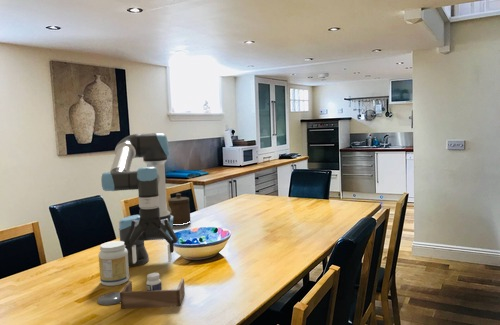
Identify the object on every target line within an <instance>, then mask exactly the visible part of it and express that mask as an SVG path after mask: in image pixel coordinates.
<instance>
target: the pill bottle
mask: <svg viewBox="0 0 500 325" xmlns="http://www.w3.org/2000/svg"><path fill="white" fill-rule="evenodd" d="M146 279H147V281H146V283H145V287H146V288H145V289H146V291H154V290H163V289H162V280H161V279H160V273H159V272H151V273H147V275H146Z"/></svg>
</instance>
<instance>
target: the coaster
mask: <svg viewBox="0 0 500 325" xmlns="http://www.w3.org/2000/svg"><path fill="white" fill-rule="evenodd" d="M120 292H121V291H112V292H108V293H105V294H102V295H101V296H99V297H97V298H98V299H97V303H98V304H99V305H101V306H113V305H118V304H121V303H120Z"/></svg>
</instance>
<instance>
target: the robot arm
mask: <svg viewBox="0 0 500 325" xmlns="http://www.w3.org/2000/svg"><path fill="white" fill-rule="evenodd" d="M170 152H171V151H170V147H169V143H168V138H167V135H166V134H165V133H160V132H159V133H157V132H154V133H134V134H130V135H127V136H125V137H124V138H122V139H121V140H120V141H119V142H118V143H117V144H116V146H115V149H114V154H115V156H114V159H113V160H112V161H113V162H112V165H111V168H110V171H108V172H103V173H102V174H101V177H100V178H101V187H102V190H103V191H105V192H117V191H118V192H119V191H130V190H131V191H133V190H136V191H137V190H138V207H139V210H138V211H139V213H138V214H133V215H129V216H126V217H122V219H120V221H119V223H118V226H119V228H118V232H119V241H123V242H124V245H125V248H126V249H127V251H128V264H129V267H137V266H142V265H144V264H146V263H148V262H149V261H150V257H149V254H148V251H147V248H146V245H145V242H146V241H149V242H150V241H158V240H159V241H161V240H165V241H166V242H167V243H168V244H167V258H168V259H167V260H168V263H170V262H171V261H172V259H173V258H172V253H174V250H175V248H174V244H177V243H178V241H179V239H178V236H177V235H176V233H175V231H174V230H173V227H174V226H173V216H172V215H171V216H170V212H169V209H168V204H167V200H168V199H167V186H166V170H165V166H166V165H165V163H166V162H167V161H168V157H170V156H171V153H170ZM137 158H139V159H140V158H142V159H143V162H144V163H145V164H146V166H143V167H138V169H137V170H132V171H131V167H132V163H133V162H132V161H133V159H137Z"/></svg>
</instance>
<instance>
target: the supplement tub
mask: <svg viewBox="0 0 500 325" xmlns="http://www.w3.org/2000/svg"><path fill="white" fill-rule="evenodd" d="M99 247H100V248H99V250H100V251H99V253H98V265H99V277H100V278H99V280H100V281H99V282H100V283H101V284H102V285H103V286H107V287H111V286H112V287H114V286H119V285H122V284H125V283H128V282H129V281H130V280H129V279H130V268H129V264H128V251H127V249H126V248H125V245H124V242H123V241H120V240H113V241H107V242H104V243H101V244H100V245H99Z"/></svg>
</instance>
